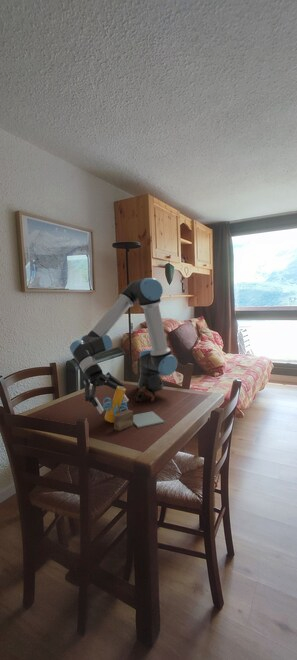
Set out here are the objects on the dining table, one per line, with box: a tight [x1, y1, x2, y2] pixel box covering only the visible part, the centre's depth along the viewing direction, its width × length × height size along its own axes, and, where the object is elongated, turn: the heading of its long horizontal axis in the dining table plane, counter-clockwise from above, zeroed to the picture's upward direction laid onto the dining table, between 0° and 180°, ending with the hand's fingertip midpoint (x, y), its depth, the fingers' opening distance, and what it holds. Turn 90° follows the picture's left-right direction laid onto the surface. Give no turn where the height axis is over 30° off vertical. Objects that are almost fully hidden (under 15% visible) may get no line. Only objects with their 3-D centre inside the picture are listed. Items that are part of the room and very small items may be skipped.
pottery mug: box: [135, 386, 156, 402], centre depth 156 cm, size 12×10×8 cm
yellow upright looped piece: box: [102, 386, 129, 424], centre depth 129 cm, size 12×10×15 cm
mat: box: [133, 411, 165, 429], centre depth 131 cm, size 12×13×1 cm
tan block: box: [113, 409, 135, 432], centre depth 124 cm, size 3×8×6 cm, turn 137°
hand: (115, 407), depth 128 cm, fingers open, 13 cm apart
